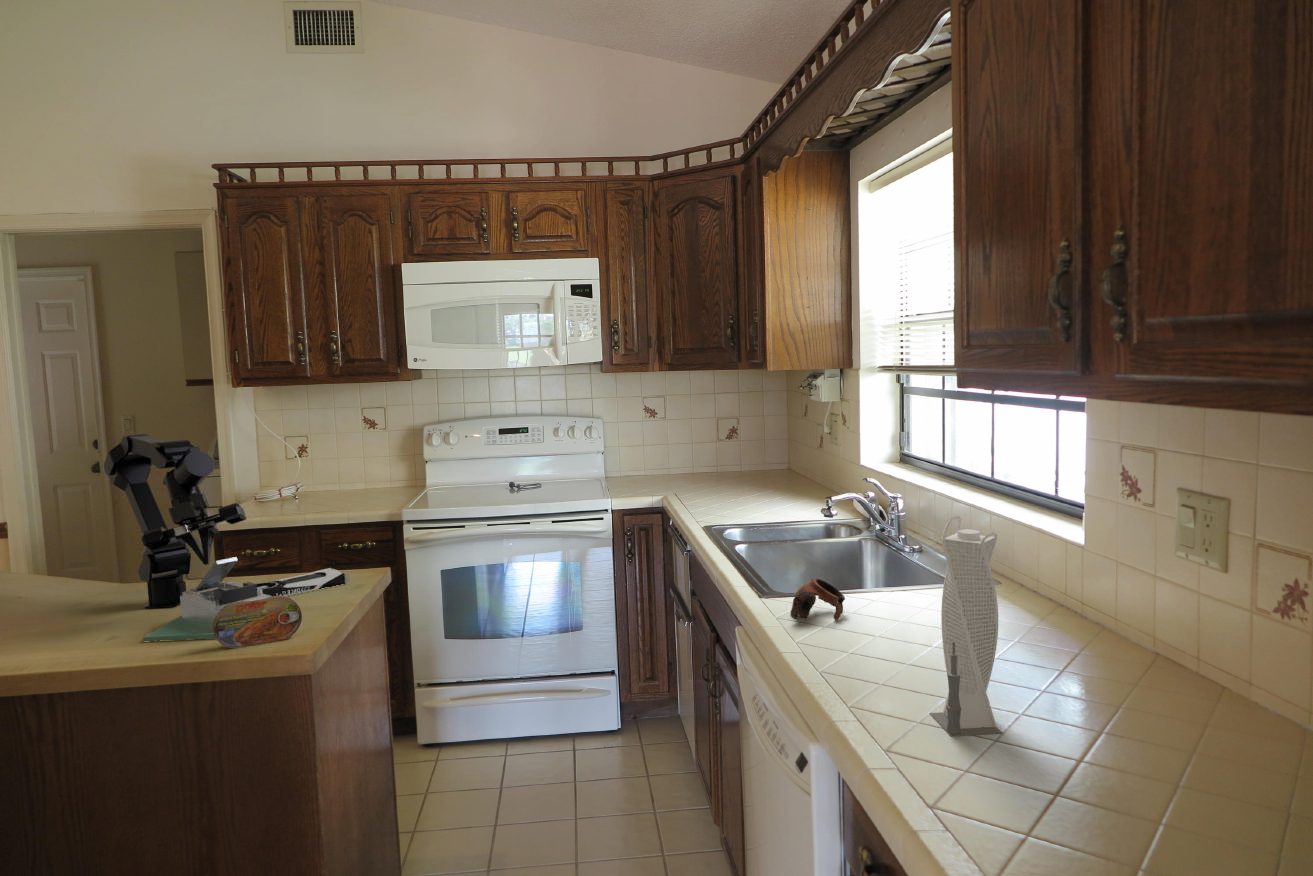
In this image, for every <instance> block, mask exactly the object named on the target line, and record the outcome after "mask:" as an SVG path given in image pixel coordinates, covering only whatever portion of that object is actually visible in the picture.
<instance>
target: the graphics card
mask: <svg viewBox="0 0 1313 876" xmlns="http://www.w3.org/2000/svg"><path fill="white" fill-rule="evenodd" d="M349 574H350V573H349V572H348V573H345V572H344V571H340V570H338V569H335V568H332V567H328V568H324V569H320V570H319V569H318V570H316V571H315V570H314V571H312V572H310V573H305V574H300V575H295V576H289V577H284V578H281V579H276V580H275V579H274V580H270V581H266V582H265V581H264V582H258V583H257V582H256V583H255V584H257V588H258V589H262V593H263V594H265V595H266V597H272V596H288V597H290V596H289V595H292V594H298V593H303V592H307V593H309V592H308V591H311V590H317V589H321V588H325V587H330V588H333V587H332V586H335V587H337V586H336V585H339V586H342V585H341V584H344V585H348V584H347V583H349V584H350V577H349ZM325 589H326V588H325ZM321 590H322V589H321ZM317 591H318V590H317ZM303 594H304V593H303ZM298 595H299V594H298Z"/></svg>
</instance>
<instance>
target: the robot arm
mask: <svg viewBox="0 0 1313 876" xmlns="http://www.w3.org/2000/svg"><path fill="white" fill-rule="evenodd" d="M152 465H153V466H155V467H156V468H157V469H159V470H161V469H162V470H163V469H171V470H170V471H166V473H165V476H164V478H163V480H162V485H164V486H166V488H167V492H168V496H169V499H170V504H171V507H169V508H168V509H167V510H168V512H169V515H170V518H171V521H172V523H173V524H174V525H176V527H173V528H169V527H168V526H167V524H166V521H165V519H164V517H163V513H162V512H161V510H160V507H159V505H158V503H157V501H156V499H155V496H154V494H153V492H152V489H151V486H150V484H149V483H148V479H149V475H150V473H151V469H152V468H151V467H152ZM173 468H174V469H173ZM103 469H104V473H105V475H107V476H108V477H109V480H110V481H111V484H112V485H114V486H115V487H117V488H118V489H120V490H122V491H123V492H124V493H125V496H126V497H127V499H128V502H129V504H130V506H131V509H132V511H133V513H134V516H135V519H136V521H137V523H138V525H139V528H140V531H141V533H142V535H141V538H140V539H141V542H142V544H143V546H144V549H143V553H142V560H141V562H140V565H139V568H138V575H139V579H140V581H142V582H143V581H144V582H146V584H147V585H146V586H147V599H148V604H146V605H144V608H145V609H155V608H175V607H177V606H179V605H181V602H180V596H182V595H183V594H182V592H185V591H186V592H187V583H186V580H184V575H190V569H191V559H192V554H191V552H190V549H189V548H188V547H187V545H188V546H189V547H190V548H191V549H192V550H193V552H194V553H195V554H196V557H198V559H199V560H200V561H201V562H202V564H203V565H204V566H207V565H209V564H210V561H211V553H212V547H213V543H214V539H215V535H216V534H219V533H220V530H219V529H218V528H217V527H218V526H217V524H220V523H223V522H225V523H228V524H229V525H235V524H238V523H241V522H244V521H246V520H247V516H246V512H245V510H244V508H243V507H242V505H240V504H238V503H236V502H235V503H231V504H229V505H225V506H221V507H219V508H218V513H217V514H213V515H211V516H209V515H208V511H207V508H209V507H210V505H209V502H208V498H207V496H206V495H205V493H204V492H201V489H200V485H201V484H202V483H203V482H204V481H205V480H206V479H207V478H208V477H209V476H210V475H211V473H213V471H214V469H215V460H214V459H213V458H212V456H210V454H208V453H206V452H204V451H201V449H200V446H194V445H193V444H192V442H191V441H190V440H188V439H178V440H164V439H160V438H157V437H154V436H153V437H152V436H150V435H149V434H146V433H140V434H139V433H138V434H128V435H125V436H122V439H121V440H120V442H119V443H118V444H117V445H116V446H114V447H113V448H112V449H111V450H108V452H107V456H106V457H105V460H104V462H103ZM195 531H198V535H199V538H200V541H199V539H198V537H197V536H196V535H194V532H195ZM200 543H201V544H200Z"/></svg>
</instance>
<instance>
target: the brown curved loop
mask: <svg viewBox="0 0 1313 876" xmlns="http://www.w3.org/2000/svg"><path fill="white" fill-rule="evenodd" d="M817 596H818V598H817ZM817 599H819V600H821V601H823V602H824V603H828V604H829V605H831V606H832V607H834V608H835V612H834V614H833V619H834V620H835V621H838V620H839V619H840V618H841V615H842V614H843V612H844V604H843V603H844V601H845V600H846V597H845V596H844V594H842V592H841V591H840V590H839V589H837V588H836V587H834V586H833V585H832V584H831V583H828V582H827V581H825V580H823V579H820V578H814V577H813V578H812V579H811V581H810V582H808V583H805V584H803V585H802V586H800V588H799V589H798V590H797V592H796V594H795V596H794V598H793V600H792V605H791V610H790V616H791V617H792V618H793V619H795V620H796V619H797V618H798V617H800V618H801V619H802V618H803V619H808V617H809V614H810V613H811V612H810V611H811V609H812V608H813V607H814V605H815V603H816V600H817Z"/></svg>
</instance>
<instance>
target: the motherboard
mask: <svg viewBox="0 0 1313 876" xmlns="http://www.w3.org/2000/svg"><path fill="white" fill-rule="evenodd" d="M187 639H205V640H217V639H216V638H215V636H214V633H213V631H212V630H209V629H206V628H203V627H200V626H198V625H195V624H192V623H189V622H187V621H184V620H182V615H180V616H179V617H177V618H175V619H173V620H171V621H170V622H168V623H166V624H165V625H162V626H160V627H159V628H157V629H156V630H154V631H152V632H150V633H148V634H146V635H145V636H143V642H144V641H155V640H156V641H160V640H184V641H188V640H187Z"/></svg>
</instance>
